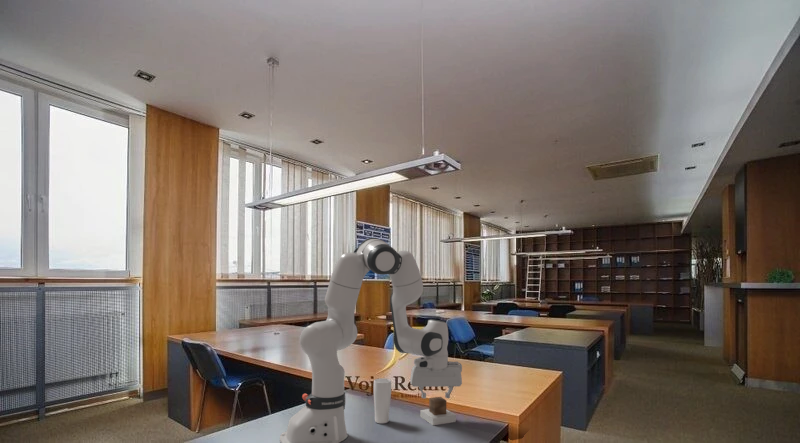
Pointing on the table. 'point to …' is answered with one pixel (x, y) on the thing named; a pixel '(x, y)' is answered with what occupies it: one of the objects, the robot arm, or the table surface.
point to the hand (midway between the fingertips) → (435, 397)
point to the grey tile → (437, 417)
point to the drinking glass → (382, 399)
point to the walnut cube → (437, 405)
